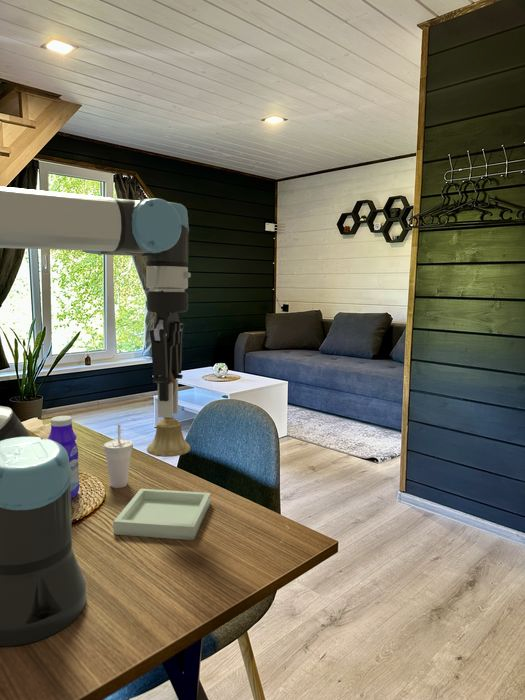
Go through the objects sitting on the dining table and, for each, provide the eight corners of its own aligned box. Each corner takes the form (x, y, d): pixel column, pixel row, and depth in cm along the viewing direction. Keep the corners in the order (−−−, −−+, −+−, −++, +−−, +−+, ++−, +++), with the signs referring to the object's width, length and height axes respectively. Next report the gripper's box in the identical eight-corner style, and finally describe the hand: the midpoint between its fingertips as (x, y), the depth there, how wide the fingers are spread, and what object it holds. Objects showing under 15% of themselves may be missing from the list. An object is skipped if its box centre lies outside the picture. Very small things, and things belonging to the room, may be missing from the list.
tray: (193, 540, 91) (194, 527, 91) (113, 534, 93) (113, 521, 92) (210, 504, 106) (210, 492, 106) (140, 499, 108) (140, 488, 107)
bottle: (70, 504, 104) (68, 422, 102) (43, 503, 105) (40, 422, 102) (83, 490, 112) (81, 413, 109) (58, 489, 112) (55, 412, 109)
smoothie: (137, 480, 118) (136, 421, 116) (127, 491, 112) (126, 429, 110) (110, 478, 119) (109, 420, 117) (99, 489, 112) (98, 428, 110)
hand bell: (180, 458, 92) (180, 372, 90) (139, 454, 94) (138, 370, 92) (196, 445, 100) (197, 365, 98) (158, 441, 102) (157, 363, 100)
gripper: (175, 291, 85) (175, 427, 88) (197, 290, 100) (197, 405, 103) (132, 290, 86) (133, 425, 89) (161, 289, 101) (162, 404, 104)
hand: (168, 414), depth 96 cm, fingers closed on hand bell, 2 cm apart
